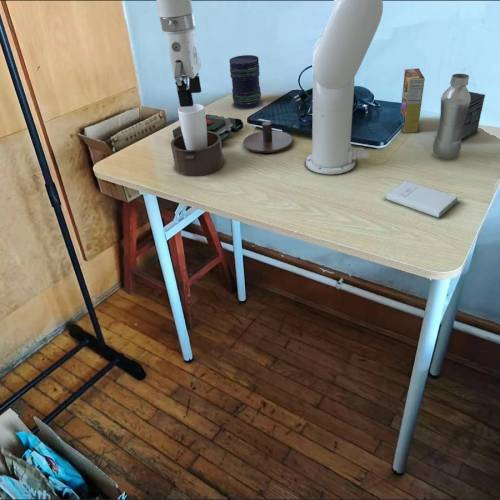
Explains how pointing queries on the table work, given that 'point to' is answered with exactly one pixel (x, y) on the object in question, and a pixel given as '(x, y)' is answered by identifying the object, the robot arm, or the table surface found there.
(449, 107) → the plastic bottle
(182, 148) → the two-handled cooking pot
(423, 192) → the hard drive
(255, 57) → the storage jar
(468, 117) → the small box
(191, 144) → the drinking glass
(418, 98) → the candy box
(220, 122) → the four-lobed dark green device
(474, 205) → the table surface
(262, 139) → the lid
